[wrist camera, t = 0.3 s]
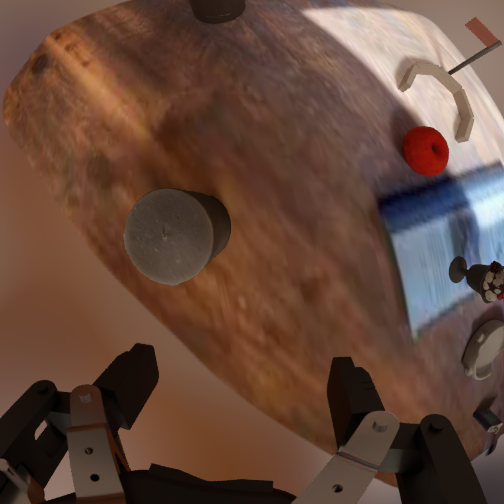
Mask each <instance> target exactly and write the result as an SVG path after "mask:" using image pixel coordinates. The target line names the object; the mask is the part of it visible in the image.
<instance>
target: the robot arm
mask: <svg viewBox="0 0 504 504" xmlns="http://www.w3.org/2000/svg"><path fill="white" fill-rule="evenodd" d="M189 1H190V4H191V6H192V9H193V12H194V14H195V16H196V18H198V19H199V20H201V21H203V22H207V23H222V22H227V21H230V20H232V19H234V18H236V17H238V16H239V15H240V14H241V13H242V12H243V11H244V9H245V0H189ZM158 379H159V371H158V367H157V361H156V356H155V351H154V347H153V346H152V345H146V344H141V343H136V344H135V345H134V346H133V347H132V349H131V350H130V351H129V352H128V351H126V352H124V353H122V354H121V355H119V356H117V357H116V359H115V360H114V361H113V362H112V363H111V364H110V365H109V366H108V369H106V370H105V371H104V372H103V373H102V374H101V375H100V376H99V377H98V379H97V380H96V381H95V382H94V383H93V384H92V385H89V384H86V385H81V386H78V387H76V388H75V389H73V390H72V392H71V393H70V392H60V391H57V388H56V386H55V384H54V383H53V382H51V381H48V380H41V381H38V382H36V383H34V384H33V385H32V386H31V387H30V388H29V389H28V390H27V391H26V392H25V393H24V394H23V395H22V396H21V397H20V398H19V399H18V400H17V401H16V402H15V403H14V404H13V405H12V406H11V407H10V409H9V410H8V411H7V412H6V413H5V414H4V415H3V416H2V417H1V418H0V504H357V502H358V501H359V499H360V498H361V496H362V495H363V493H364V492H365V490H366V489H367V487H368V485H369V484H370V482H371V481H372V479H373V478H374V476H375V474H376V473H377V472H392V473H395V475H396V479H397V484H398V488H399V492H400V497H401V502H402V504H487V501H486V499H485V496H484V494H483V491H482V488H481V486H480V484H479V481H478V479H477V476H476V474H475V472H474V469H473V467H472V465H471V463H470V460H469V458H468V456H467V454H466V452H465V450H464V448H463V446H462V443H461V441H460V439H459V437H458V435H457V433H456V431H455V430H454V428H453V426H452V424H451V422H450V421H449V420H448V419H447V418H446V417H444V416H442V415H438V414H431V415H428V416H426V417H424V418H423V419H422V421H421V422H420V424H409V423H401V422H399V420H398V419H397V417H396V416H395V415H393V414H391V413H389V412H386V411H385V409H384V406H383V404H382V402H381V399H380V397H379V395H378V393H377V390H376V389H375V386H374V383H372V379H371V377H370V375H369V373H368V372H367V371H366V370H364V369H363V368H362V367H355V366H354V363H353V361H352V358H351V357H334V358H333V360H332V364H331V369H330V374H329V379H328V384H327V398H328V403H329V408H330V413H331V417H332V422H333V428H334V433H335V438H336V443H337V449H338V452H337V453H336V454H335V455H334V456H333V457H332V459H331V460H330V461H329V462H328V464H327V465H326V466H325V467H324V469H323V470H322V471H321V472H320V473H319V474H318V475H317V477H316V478H315V479H314V480H313V481H312V482H311V483H310V484H309V485H308V487H307V488H306V489H305V490H304V491H303V492H302V493H301V494H300V495H299V496H298V497H296V496H295V495H293V494H290V493H288V492H286V491H283V490H280V489H275V488H273V481H264V480H246V479H238V480H227V481H206V480H203V479H200V478H197V477H195V476H193V475H190V474H188V473H186V472H183V471H181V470H178V469H173V468H169V467H165V466H161V465H157V464H153V463H152V464H151V466H150V469H149V470H134V471H131V469H130V467H129V465H128V462H127V459H126V456H125V453H124V450H123V447H122V443H121V440H120V437H119V434H118V430H119V428H120V427H121V428H124V429H127V430H130V429H131V427H132V425H133V423H134V422H135V420H136V418H137V417H138V415H139V413H140V412H141V410H142V408H143V407H144V405H145V403H146V402H147V400H148V398H149V397H150V395H151V393H152V391H153V390H154V388H155V386H156V385H157V383H158ZM44 420H45V422H46V424H47V427H46V428H45V429H44V431H43V432H42V433H41V435H40V436H39V437H38V439H37V440H35V431H36V429H37V428H38V427H39V426H40V424H41V423H42V422H43V421H44ZM67 451H69V458H70V465H71V472H72V477H73V483H74V488H75V492H74V493H71V494H68V495H64V496H61V497H58V498H55V499H51V500H48V501H46V500H45V498H44V497H45V493H44V488H45V486H46V485H47V483H48V481H49V480H50V478H51V476H52V475H53V473H54V471H55V470H56V468H57V467H58V465H59V463H60V462H61V460H62V459H63V457H64V455H65V454H66V452H67ZM340 451H341V452H340Z"/></svg>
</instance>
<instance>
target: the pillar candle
mask: <svg viewBox="0 0 504 504" xmlns="http://www.w3.org/2000/svg"><path fill="white" fill-rule="evenodd" d="M230 222H231V221H230V217H229V214H228V212H227V210H226V208H225V207H224V205H223V204H222V203H221V202H220V201H219V200H218V199H216V198H214V197H213V196H208V195H205V194H202V193H197V192H192V191H185V190H180V189H174V188H163V189H157V190H154V191H151V192H149V193H147V194H146V195H144V196H143V197H142V198H140V199H139V200H138V201H137V203H136V204H135V205H134V206H133V208H132V209H131V211H130V213H129V216H128V218H127V221H126V225H125V232H124V234H123V237H124V240H125V241H124V245H125V249H126V250H127V253H128V254H129V256H130V258H131V260H132V263H133V265H135V266H136V267H137V269H138V270H139V272H141V273H143V274H144V275H145V276H147V277H148V278H149V279H151V280H154V281H156V282H159V283H163V284H169V286H170V285H172V286H174V285H178V284H179V283H182V282H184V281H187V280H189V279H191V278H193V277H194V276H196V275H197V274H198V273H200V272H201V270H202V269H203V268H204V267H205V266H206V265H207V264H208V263H209V262H210V261H211V260H212V259H213V258H215V257H216V256H217V255H218V254H219V253H220V252H221V251H222V250H223V249H224V248H225V246H226V244H227V243H228V240H229V237H230V233H231V223H230Z"/></svg>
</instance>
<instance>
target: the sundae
mask: <svg viewBox="0 0 504 504" xmlns="http://www.w3.org/2000/svg"><path fill="white" fill-rule="evenodd" d="M503 269H504V266H502V265H501V264H500V263H498V262H496V261H493V262H492V263H491V264H490V265H481V264H475V265H472V266H471V267H470V268H469V270H467V264H466V261H465V259H464V258H463V257H457V258H455V259H454V260H453V262H452V263H451V266H450V269H449V276H450V279H451V281H452V282H454V283H458V282H460V281H461V280H462V279H463V278H464V276H466V279H467V283H468V285H469V286H470V287H471V288H472V289H473V290H475V291H476V292H478V293H479V294H480V295H481V297H482V299H483V301H484V302H485V303H491V302H493V301H495V300H497V299H498V300H502V299H503V298H504V270H503Z"/></svg>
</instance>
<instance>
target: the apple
mask: <svg viewBox="0 0 504 504" xmlns="http://www.w3.org/2000/svg"><path fill="white" fill-rule="evenodd" d="M403 154H404V158H405V160H406V162H407V163H408V165H409V166H410V167H411V168H412V169H413V170H414V171H415V172H417V173H419V174H421V175H424V176H429V177H431V176H435V175H438V174H440V173H441V172H442V171H443V170H444V168H445V167H446V165H447V163H448V158H449V148H448V145H447V142H446V140H445V139H444V137H443V136H442V135H441V134H440V133H439V132H438V131H437V130H436V129H434V128H431V127H426V126H421V127H416V128H413V129H412V130H410V131H409V132H408V133H407V135H406V137H405V139H404V143H403Z"/></svg>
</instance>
